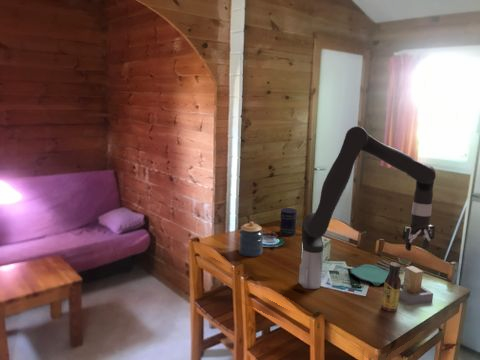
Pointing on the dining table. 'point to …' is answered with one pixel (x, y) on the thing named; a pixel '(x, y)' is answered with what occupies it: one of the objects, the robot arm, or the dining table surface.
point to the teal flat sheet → (372, 273)
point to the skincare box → (412, 280)
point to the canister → (250, 240)
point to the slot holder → (415, 296)
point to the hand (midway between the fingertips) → (416, 249)
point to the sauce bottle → (391, 288)
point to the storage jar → (288, 222)
